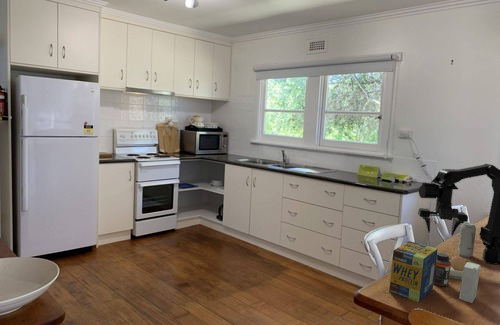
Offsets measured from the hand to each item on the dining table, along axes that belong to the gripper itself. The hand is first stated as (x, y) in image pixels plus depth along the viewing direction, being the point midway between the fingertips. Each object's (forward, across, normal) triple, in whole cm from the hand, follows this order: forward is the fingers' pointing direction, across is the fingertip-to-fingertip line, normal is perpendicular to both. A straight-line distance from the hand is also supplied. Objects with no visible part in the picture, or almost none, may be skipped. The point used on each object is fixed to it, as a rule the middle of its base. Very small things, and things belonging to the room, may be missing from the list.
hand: (440, 233), depth 166 cm
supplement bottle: (+12, -4, -26) cm, 29 cm away
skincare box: (+12, +3, -36) cm, 38 cm away
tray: (+12, +5, -13) cm, 18 cm away
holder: (+12, +9, -1) cm, 15 cm away
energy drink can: (+12, +14, +12) cm, 22 cm away
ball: (+8, +5, -13) cm, 16 cm away
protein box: (+12, -15, -36) cm, 41 cm away
